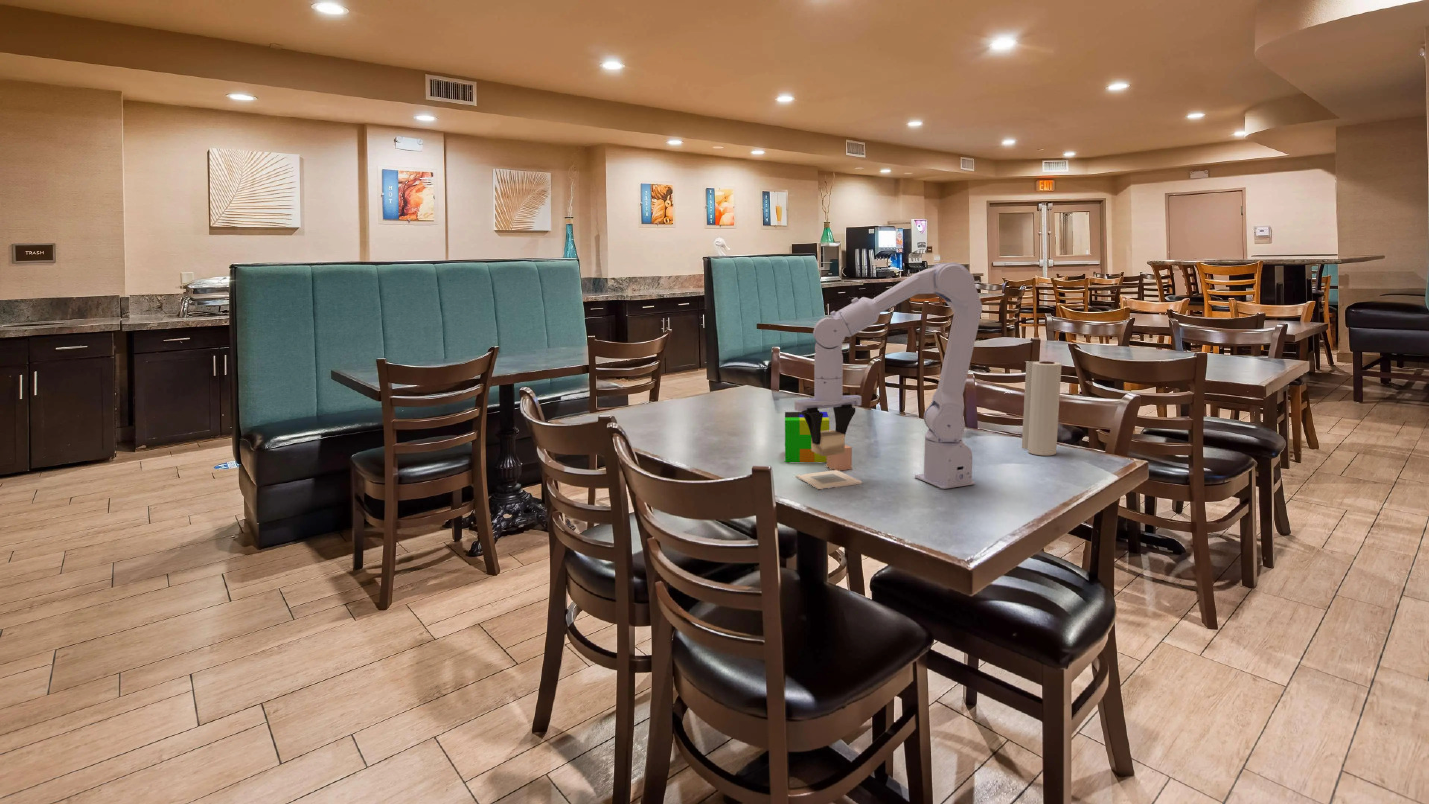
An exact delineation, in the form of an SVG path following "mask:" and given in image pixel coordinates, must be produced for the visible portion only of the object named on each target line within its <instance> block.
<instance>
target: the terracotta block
mask: <svg viewBox="0 0 1429 804" xmlns="http://www.w3.org/2000/svg"><path fill="white" fill-rule="evenodd" d="M852 454H853V447H852V446H849V445H846V444H845V454H837V455H829V456H827V463H826V467H827V466H828V467H829V468H828V467H827V468H828V469H830V468H831V469H830V470H832V469H834V470H838V471H839V470H843V471H848V470H847V469H850V470H852V467H853V466H852V464H853V460H852V458H853V457H852V456H853V455H852Z"/></svg>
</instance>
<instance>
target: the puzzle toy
mask: <svg viewBox="0 0 1429 804" xmlns="http://www.w3.org/2000/svg"><path fill="white" fill-rule="evenodd" d="M819 412H820V413H823V418H822V423H821V431H827V430H830V418H829V414H828V411H819ZM784 452H785V453H784V463H785V462H827V456H822V455H819V454H817V453H815V452H813V451H811V434H810V430H809V427H808V424H807V422H806V420H805V418H804V416H803V414H802V412H801V411H784Z"/></svg>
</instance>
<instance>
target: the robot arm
mask: <svg viewBox="0 0 1429 804" xmlns="http://www.w3.org/2000/svg"><path fill="white" fill-rule="evenodd" d="M975 284H976V283H975V277H974V275H973V274H972V273H971V272H970V271H969V270H968V269H967V268H966V267H965V266H964V265H963V264H961V263H958V262H941V263H936V264H935V265H933V266H932V267H931V268H930V267H929V268H926V269H923V270H920V271H919V272H916V273H914V274H912V275H910V276H909V277H907V278H905V279H904V280H901V281H900V282H898V283H897V284H895V285H894V286H892V287H890V288H889V289H887V290H885V291H884V292H881V294H880V293H879V294H878V295H877V296H875V297H874V298H869V297H865V296H862V297H861V298H858V297H854V298H853V299H851V303H850V304H848V305H847V306H844V307H842V308H841V309H839V310H838V311H835V310H833V311H831V312H830V313H829V314H830V317H824V318H821V319H820V320H819V321H817V322H816V324H815V325H814V327H813V331H812V335H813V338H814V340H815V346H814V352H815V354H814V357H813V359H814V361H813V363H814V367H813V370H814V372H813V375H814V376H813V377H814V378H813V379H814V386H813V387H814V389H813V391H814V393H813V395H814V396H813V397H809V398H804V399H799V400H794V411H795V412H802V414H803V416H804V418H805V420H806V422H807V424H808V427H809V430H810V434H811V438H812V443H814V444H816V445H819V444H820V440H821V423H822V418H823V413H820V412H821V411H820V410H821V409H830V408H831V409H833V414H834V421H835V431H837V432H839V433H842V434H845V435H846V434H847V432H848V431H847V430H848V428H849V425H850V423H851V420H852V419H853V417H854V416H855V414H856V406H862V396H861V395H859V394H852V395H851V394H850V395H843V393H844V392H843V391H844V390H843V388H844V387H843V386H844V384H843V383H844V382H843V381H844V380H843V379H844V377H843V375H844V374H843V373H844V369H843V368H844V356H843V353H842V352H843V343H844V341H845V338H846V337H848V338H850V337H852V336H854V335H856V334H858V333H859V332H861V331H863V330H865V329H867V328H868V327H870V326H872V325H874V324H876V323H877V322H878V319H879V318H880V317H879V316H880V314H881V313H883V312H884V311H886V310H889V309H891V308H892V307H894V306H896V305H898V304H900V303H902V302H904V301H906V300H908V299H910V298H912V297H914V296H916V295H927V294H930V295H932V294H935V295H937V296H938V297H940V298H941V299H943V300H944V302H945V303H946V304H947V306H948V307H949V308H950V309H951V311H952V312H953V316H952V322H951V326H950V330H949V335H948V339H947V343H946V348H945V353H944V357H943V361H942V367H941V371H940V375H939V381H938V384H937V385H938V386H937V388H936V391H935V392H934V394H933V395H932V398H931V402H930V404H929V405H928V407H927V408H925V410H924V413H923V422H924V424H925V426H926V427H927V428H928V429H927V432H926V433H925V435H924V455H923V456H924V459H923V460H924V461H923V462H924V463H923V464H924V465H923V473H921V474H920V473H919V474H915V475H914V478H915V479H918V480H920V481H923V482H925V483H928V484H930V485H932V486H934V487H938V488H939V489H942V490H944V489H951V488H957V487H958V488H960V487H964V486H971V485H976V483H975V482H976V481H974V480H972V478H973V477H972V476H973V453H972V449H971V448H970V447H969V446H968V445H966V444H965V443H964V441H963V434H964V431H965V428H966V423H965V418H964V410H965V403H964V392H965V387H966V383H967V377H968V373H969V369H970V364H971V360H972V356H973V352H974V347H975V342H976V339H977V334H978V330H979V324H980V321H981V320H980V319H981V315H982V313H983V312H982V311H983V304H982V301H981V299H980V295H979V293H978V290H977V287H976V285H975ZM854 406H855V407H854Z"/></svg>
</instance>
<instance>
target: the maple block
mask: <svg viewBox="0 0 1429 804" xmlns="http://www.w3.org/2000/svg"><path fill="white" fill-rule="evenodd" d="M845 438H846V434H842V433H839V432H837V431H836V430H834V429H829V430H827V431H821V440H820V444H819V445H816V444H814V443H812V438H811V451H813V452H815V453H817V454H819V455H822V456H829V455H837V454H845V445H846V444H845V443H846V441H845Z"/></svg>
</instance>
